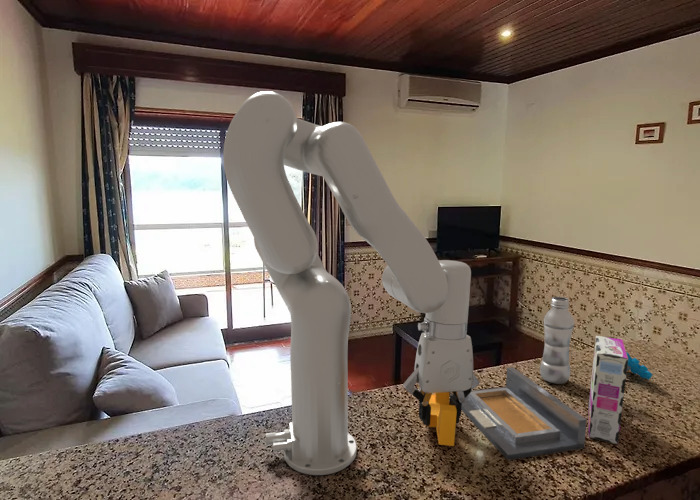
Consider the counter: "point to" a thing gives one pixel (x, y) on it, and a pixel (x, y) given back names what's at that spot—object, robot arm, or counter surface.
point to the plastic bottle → (557, 342)
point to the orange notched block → (443, 418)
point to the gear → (637, 368)
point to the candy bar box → (607, 389)
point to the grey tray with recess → (524, 418)
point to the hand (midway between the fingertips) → (439, 419)
